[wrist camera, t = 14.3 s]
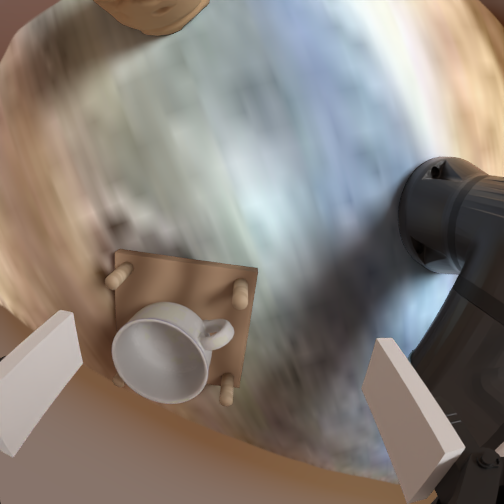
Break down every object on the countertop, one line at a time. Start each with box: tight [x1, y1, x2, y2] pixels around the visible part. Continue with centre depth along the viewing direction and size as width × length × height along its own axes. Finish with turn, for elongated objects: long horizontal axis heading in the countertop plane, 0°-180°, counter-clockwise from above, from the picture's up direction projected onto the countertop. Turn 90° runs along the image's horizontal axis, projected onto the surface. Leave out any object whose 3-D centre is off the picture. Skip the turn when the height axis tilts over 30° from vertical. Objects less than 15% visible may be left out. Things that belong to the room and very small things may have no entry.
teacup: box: [112, 302, 234, 404], centre depth 34 cm, size 14×11×8 cm
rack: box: [105, 249, 258, 406], centre depth 36 cm, size 17×17×6 cm
